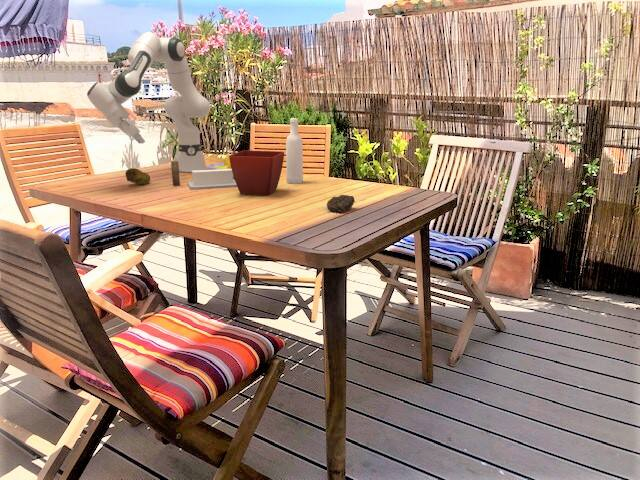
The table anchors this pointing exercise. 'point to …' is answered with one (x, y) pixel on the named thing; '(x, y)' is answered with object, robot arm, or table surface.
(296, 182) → the bottle
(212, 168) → the fruit bowl
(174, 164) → the post
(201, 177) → the ridge
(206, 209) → the table surface
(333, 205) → the dark brown rock
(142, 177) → the potato
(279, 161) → the plant pot
